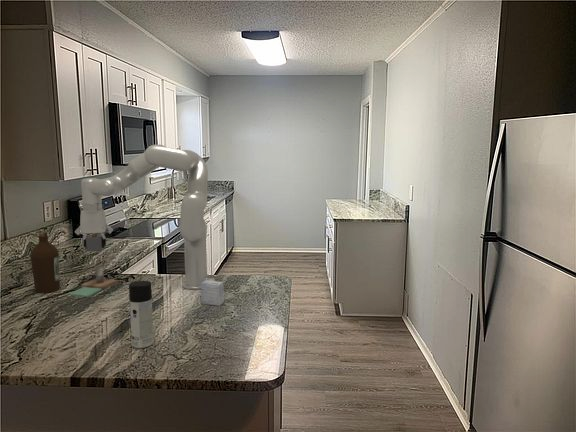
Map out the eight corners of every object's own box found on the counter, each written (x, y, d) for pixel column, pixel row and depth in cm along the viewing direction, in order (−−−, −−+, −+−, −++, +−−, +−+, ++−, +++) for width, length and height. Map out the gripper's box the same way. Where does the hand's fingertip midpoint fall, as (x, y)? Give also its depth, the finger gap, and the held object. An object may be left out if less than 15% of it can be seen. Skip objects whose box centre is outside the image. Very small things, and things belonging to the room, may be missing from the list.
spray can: (134, 339, 141) (131, 280, 138) (156, 339, 141) (153, 279, 138) (128, 349, 134) (125, 286, 131) (151, 348, 135) (148, 286, 132)
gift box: (101, 250, 189) (100, 235, 188) (86, 251, 187) (85, 235, 186) (103, 247, 195) (102, 232, 193) (89, 248, 193) (88, 233, 192)
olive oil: (31, 295, 181) (25, 236, 177) (36, 287, 191) (31, 231, 187) (59, 292, 185) (55, 234, 181) (63, 284, 195) (58, 229, 191)
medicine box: (224, 302, 174) (223, 281, 173) (219, 306, 170) (218, 285, 169) (206, 300, 177) (206, 279, 176) (201, 304, 173) (200, 283, 171)
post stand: (118, 282, 199) (117, 265, 198) (104, 289, 189) (103, 271, 188) (96, 280, 202) (94, 263, 200) (81, 286, 192) (79, 269, 191)
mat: (101, 290, 188) (101, 288, 188) (87, 297, 179) (87, 295, 179) (83, 288, 190) (83, 287, 190) (68, 295, 182) (68, 293, 181)
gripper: (68, 208, 182) (71, 250, 185) (112, 207, 187) (115, 248, 189) (72, 206, 189) (75, 246, 192) (114, 205, 194) (117, 244, 197)
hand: (95, 247), depth 191 cm, fingers closed on gift box, 6 cm apart
